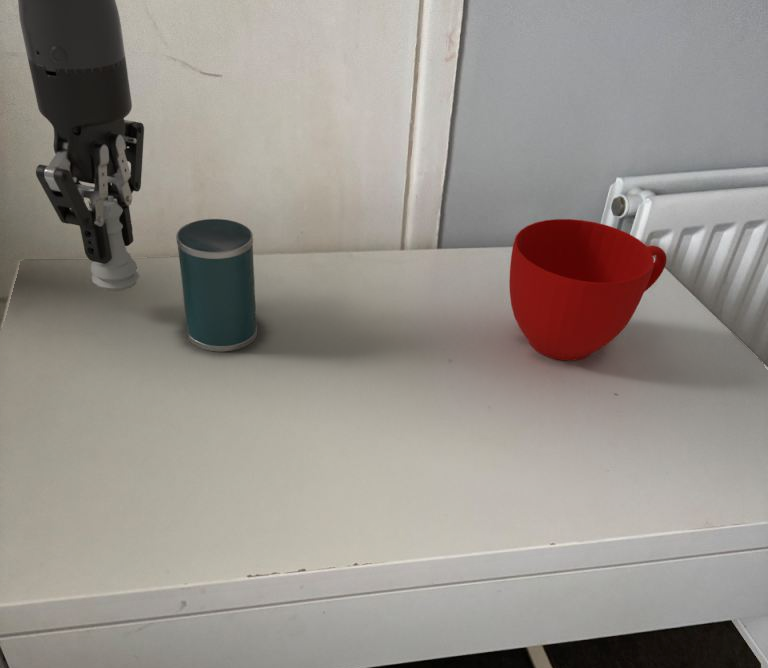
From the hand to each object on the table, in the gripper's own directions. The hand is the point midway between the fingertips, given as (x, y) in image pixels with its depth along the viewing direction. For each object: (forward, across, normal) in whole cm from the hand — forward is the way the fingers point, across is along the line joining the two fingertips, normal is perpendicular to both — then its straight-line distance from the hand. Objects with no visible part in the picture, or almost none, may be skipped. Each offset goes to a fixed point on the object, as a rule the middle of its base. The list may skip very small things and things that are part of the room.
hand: (110, 251), depth 79 cm
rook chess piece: (+3, 0, 0) cm, 3 cm away
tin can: (+6, 0, +11) cm, 13 cm away
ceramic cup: (+7, -13, +44) cm, 46 cm away
